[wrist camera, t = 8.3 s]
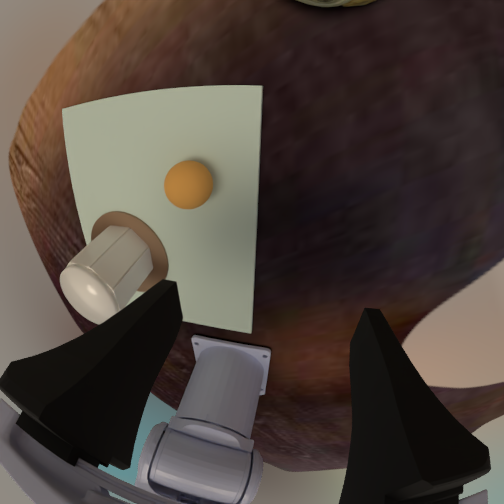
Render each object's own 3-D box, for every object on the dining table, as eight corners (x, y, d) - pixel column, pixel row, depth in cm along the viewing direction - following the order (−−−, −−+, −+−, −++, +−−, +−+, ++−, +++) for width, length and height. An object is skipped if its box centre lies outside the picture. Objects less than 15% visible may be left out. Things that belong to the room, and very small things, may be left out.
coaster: (174, 296, 24) (173, 299, 24) (105, 281, 25) (103, 283, 25) (161, 214, 20) (159, 216, 19) (84, 208, 21) (82, 210, 20)
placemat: (252, 330, 25) (251, 333, 25) (107, 299, 27) (105, 301, 27) (263, 86, 14) (262, 85, 14) (65, 108, 16) (62, 109, 16)
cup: (156, 282, 23) (123, 332, 18) (109, 272, 24) (74, 315, 19) (146, 229, 20) (102, 276, 15) (96, 223, 21) (51, 263, 16)
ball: (219, 200, 18) (204, 220, 16) (178, 196, 19) (158, 215, 16) (219, 156, 16) (202, 169, 14) (175, 155, 17) (152, 167, 14)
